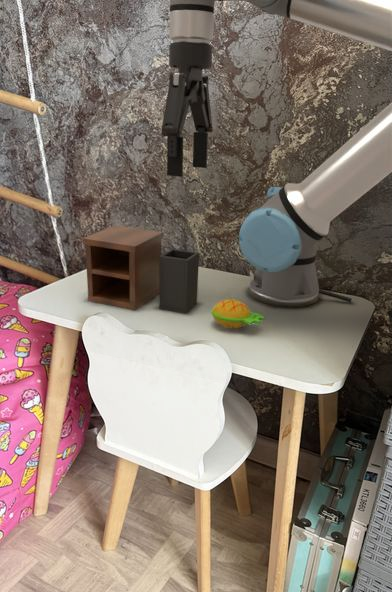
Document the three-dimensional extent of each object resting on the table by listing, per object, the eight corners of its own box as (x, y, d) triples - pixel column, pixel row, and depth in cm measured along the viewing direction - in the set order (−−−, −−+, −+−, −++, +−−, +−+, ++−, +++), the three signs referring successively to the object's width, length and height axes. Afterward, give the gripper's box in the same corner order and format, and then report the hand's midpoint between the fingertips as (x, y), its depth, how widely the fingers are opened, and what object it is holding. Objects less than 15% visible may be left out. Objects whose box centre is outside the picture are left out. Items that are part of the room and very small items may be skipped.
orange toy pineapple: (218, 316, 104) (220, 291, 101) (266, 326, 100) (269, 300, 98) (204, 329, 98) (205, 302, 96) (255, 340, 94) (257, 312, 92)
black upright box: (197, 303, 109) (199, 252, 104) (186, 313, 104) (187, 260, 99) (170, 299, 111) (171, 248, 106) (158, 308, 106) (159, 256, 101)
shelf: (162, 291, 115) (163, 232, 109) (135, 310, 105) (135, 246, 99) (116, 283, 119) (114, 225, 113) (86, 301, 108) (82, 238, 102)
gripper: (194, 48, 102) (191, 162, 111) (140, 34, 80) (142, 178, 90) (231, 48, 99) (225, 165, 109) (186, 35, 78) (183, 181, 88)
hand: (187, 171), depth 99 cm, fingers open, 13 cm apart
